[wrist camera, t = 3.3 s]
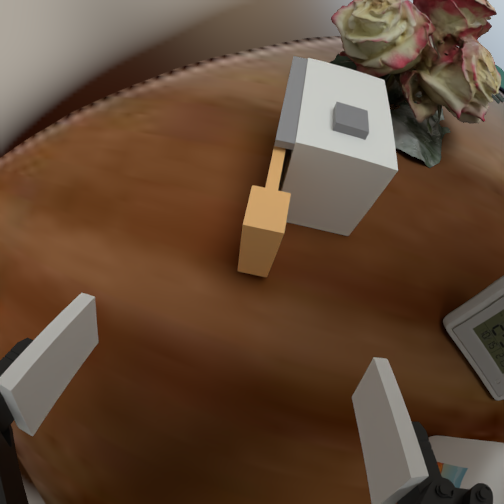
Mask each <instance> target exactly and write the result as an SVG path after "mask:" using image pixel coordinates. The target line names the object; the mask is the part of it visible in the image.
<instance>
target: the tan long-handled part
mask: <svg viewBox="0 0 504 504" xmlns="http://www.w3.org/2000/svg"><path fill="white" fill-rule="evenodd" d="M285 151H286V148H281V147H277V146H274V149H273V154H272V159H271V163H270V168H269V172H268V177H267V182H266V186H265V188H264V187H259V186H254V185H252V188H251V192H250V196H249V201H248V205H247V209H246V213H245V217H244V221H243V226H242V235H241V244H240V253H239V262H238V272H243V273H248V274H252V275H257V276H262V277H267V276H268V274H269V271H270V269H271V266H272V264H273V261H274V259H275V256H276V253H277V251H278V248H279V246H280V243H281V241H282V238H283V235H284V232H285V226H286V220H287V214H288V208H289V202H290V196H291V193H287V192H282V191H278V188H279V183H280V178H281V172H282V167H283V161H284V156H285Z"/></svg>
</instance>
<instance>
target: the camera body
mask: <svg viewBox="0 0 504 504" xmlns="http://www.w3.org/2000/svg"><path fill="white" fill-rule="evenodd" d="M274 146H277V147H281V148H286V151H285V156H284V161H283V167H282V172H281V178H280V183H279V188H278V191H282V192H287V193H291V196H290V202H289V208H288V214H287V220H286V222H288V223H293V224H297V225H302V226H306V227H310V228H315V229H319V230H323V231H328V232H332V233H336V234H341V235H345V236H349V235H350V233H351V232H352V231H353V230H354V228H355V227H356V226H357V225H358V223H359V222H360V221H361V219H362V218H363V217H364V215H365V214H366V213H367V212H368V210H369V209H370V208H371V206H372V205H373V204H374V202H375V201H376V200H377V198H378V197H379V196H380V194H381V193H382V192H383V190H384V189H385V188H386V186H387V185H388V184H389V182H390V181H391V180H392V178H393V177H394V175H395V174H396V173H397V171H398V166H397V157H396V148H395V140H394V133H393V126H392V119H391V113H390V107H389V101H388V96H387V90H386V85H385V80H383V79H380V78H377V77H374V76H371V75H368V74H365V73H362V72H359V71H355V70H352V69H349V68H345V67H342V66H338V65H335V64H331V63H327V62H323V61H319V60H315V59H311V58H308V59H305V58H300V57H296V56H294V57H293V61H292V66H291V70H290V75H289V80H288V84H287V89H286V94H285V98H284V103H283V107H282V112H281V117H280V121H279V126H278V130H277V135H276V140H275V144H274Z"/></svg>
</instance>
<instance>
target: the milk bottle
mask: <svg viewBox="0 0 504 504" xmlns="http://www.w3.org/2000/svg"><path fill="white" fill-rule="evenodd" d="M428 438H429V442H430V444H431V446H432V448H431V449H433V452H434V455H435V458H436V461H437V464H438V467H439V470H440V473H441V476H442V477H443V478H446V479H449V480H450V481H451V482H452V483H453V484H454V486H455V487H456V488H463V489H470V488H472V487H473V486H474V485H476V484H478V483H484V484H486V485H488V486H489V487H490V488H491V490H492V492H493V504H504V443H499V442H492V441H481V440H473V439H464V438H456V437H448V436H438V435H436V436H431V437H428Z"/></svg>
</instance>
